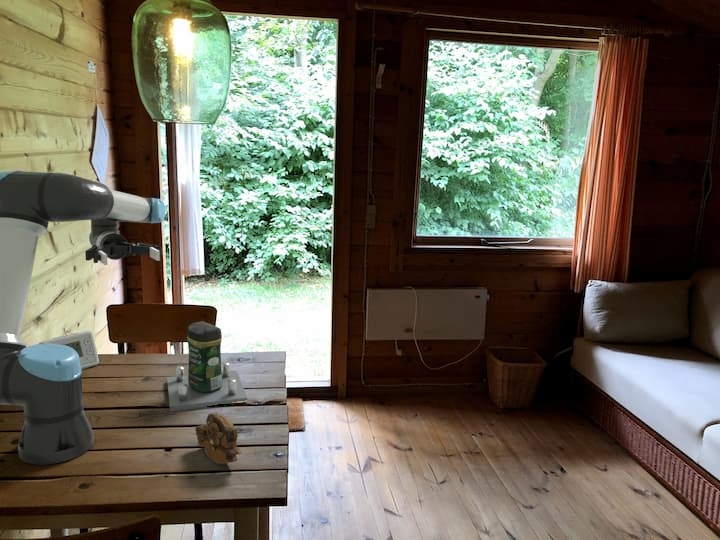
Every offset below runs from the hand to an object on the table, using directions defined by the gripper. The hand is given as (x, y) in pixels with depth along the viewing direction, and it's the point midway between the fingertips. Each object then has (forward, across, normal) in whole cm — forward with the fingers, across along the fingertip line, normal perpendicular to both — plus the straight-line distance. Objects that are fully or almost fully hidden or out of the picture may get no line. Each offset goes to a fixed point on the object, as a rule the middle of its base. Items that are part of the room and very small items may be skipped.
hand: (132, 257), depth 153 cm
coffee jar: (+11, -15, -37) cm, 41 cm away
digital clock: (-25, +13, -38) cm, 47 cm away
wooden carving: (+46, -4, -38) cm, 60 cm away
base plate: (+11, -15, -38) cm, 42 cm away
